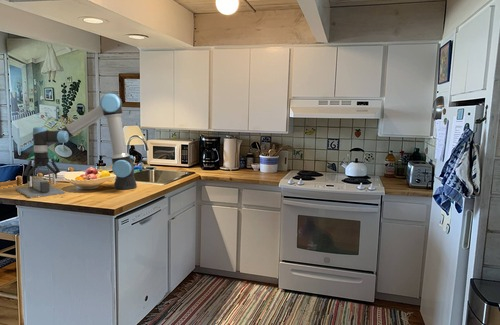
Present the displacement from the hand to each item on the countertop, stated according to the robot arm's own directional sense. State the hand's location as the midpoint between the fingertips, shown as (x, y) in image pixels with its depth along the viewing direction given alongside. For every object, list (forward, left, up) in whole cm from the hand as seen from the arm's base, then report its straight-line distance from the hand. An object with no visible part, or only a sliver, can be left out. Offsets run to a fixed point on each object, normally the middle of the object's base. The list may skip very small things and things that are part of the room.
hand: (42, 185), depth 227 cm
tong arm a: (+2, -3, -3) cm, 5 cm away
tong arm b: (+3, -1, -3) cm, 5 cm away
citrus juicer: (+24, -26, -6) cm, 35 cm away
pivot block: (+13, -9, -4) cm, 16 cm away
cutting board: (+5, -3, -5) cm, 8 cm away
